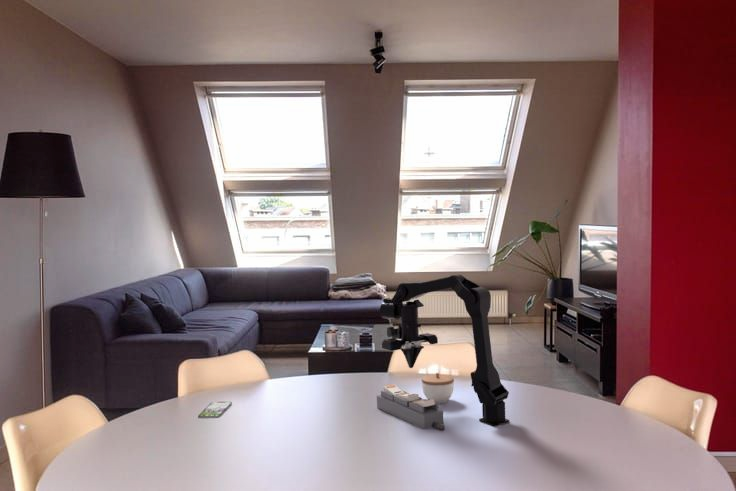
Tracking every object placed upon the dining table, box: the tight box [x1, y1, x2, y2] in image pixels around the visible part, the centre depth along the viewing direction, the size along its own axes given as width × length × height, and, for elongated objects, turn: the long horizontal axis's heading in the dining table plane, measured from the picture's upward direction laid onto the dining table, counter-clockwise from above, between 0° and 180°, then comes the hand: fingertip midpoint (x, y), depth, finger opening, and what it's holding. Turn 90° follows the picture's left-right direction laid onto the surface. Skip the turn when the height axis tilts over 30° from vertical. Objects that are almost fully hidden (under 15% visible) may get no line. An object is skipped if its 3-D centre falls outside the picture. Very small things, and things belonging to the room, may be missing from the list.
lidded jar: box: [421, 372, 455, 405], centre depth 201 cm, size 11×11×9 cm
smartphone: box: [197, 401, 233, 419], centre depth 199 cm, size 7×1×15 cm
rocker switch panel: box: [376, 390, 445, 431], centre depth 185 cm, size 30×7×6 cm, turn 31°
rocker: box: [383, 384, 404, 399], centre depth 193 cm, size 6×4×2 cm, turn 31°
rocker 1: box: [412, 398, 435, 407], centre depth 180 cm, size 6×4×2 cm, turn 31°
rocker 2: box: [398, 392, 420, 401], centre depth 186 cm, size 6×4×2 cm, turn 31°
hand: (411, 367), depth 197 cm, fingers closed
